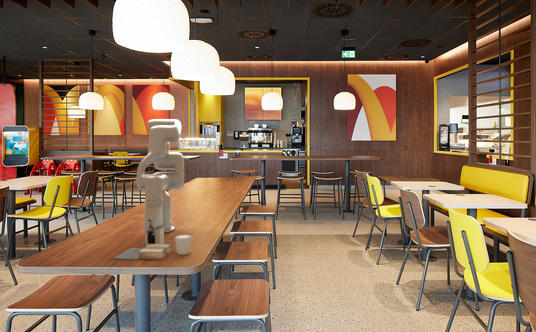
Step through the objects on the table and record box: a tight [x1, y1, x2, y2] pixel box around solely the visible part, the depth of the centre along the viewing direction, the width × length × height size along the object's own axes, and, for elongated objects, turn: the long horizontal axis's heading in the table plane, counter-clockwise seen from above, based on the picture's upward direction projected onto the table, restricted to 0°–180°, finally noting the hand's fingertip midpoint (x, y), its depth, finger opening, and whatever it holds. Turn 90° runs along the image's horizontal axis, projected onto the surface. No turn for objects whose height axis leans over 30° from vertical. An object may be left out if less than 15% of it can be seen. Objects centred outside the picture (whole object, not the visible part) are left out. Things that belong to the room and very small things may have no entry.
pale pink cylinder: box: [174, 234, 192, 256], centre depth 145 cm, size 7×7×7 cm
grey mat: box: [113, 247, 144, 261], centre depth 143 cm, size 14×10×1 cm
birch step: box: [138, 243, 172, 260], centre depth 142 cm, size 11×9×3 cm
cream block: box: [144, 226, 165, 247], centre depth 154 cm, size 4×7×9 cm, turn 85°
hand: (154, 241), depth 154 cm, fingers open, 6 cm apart
